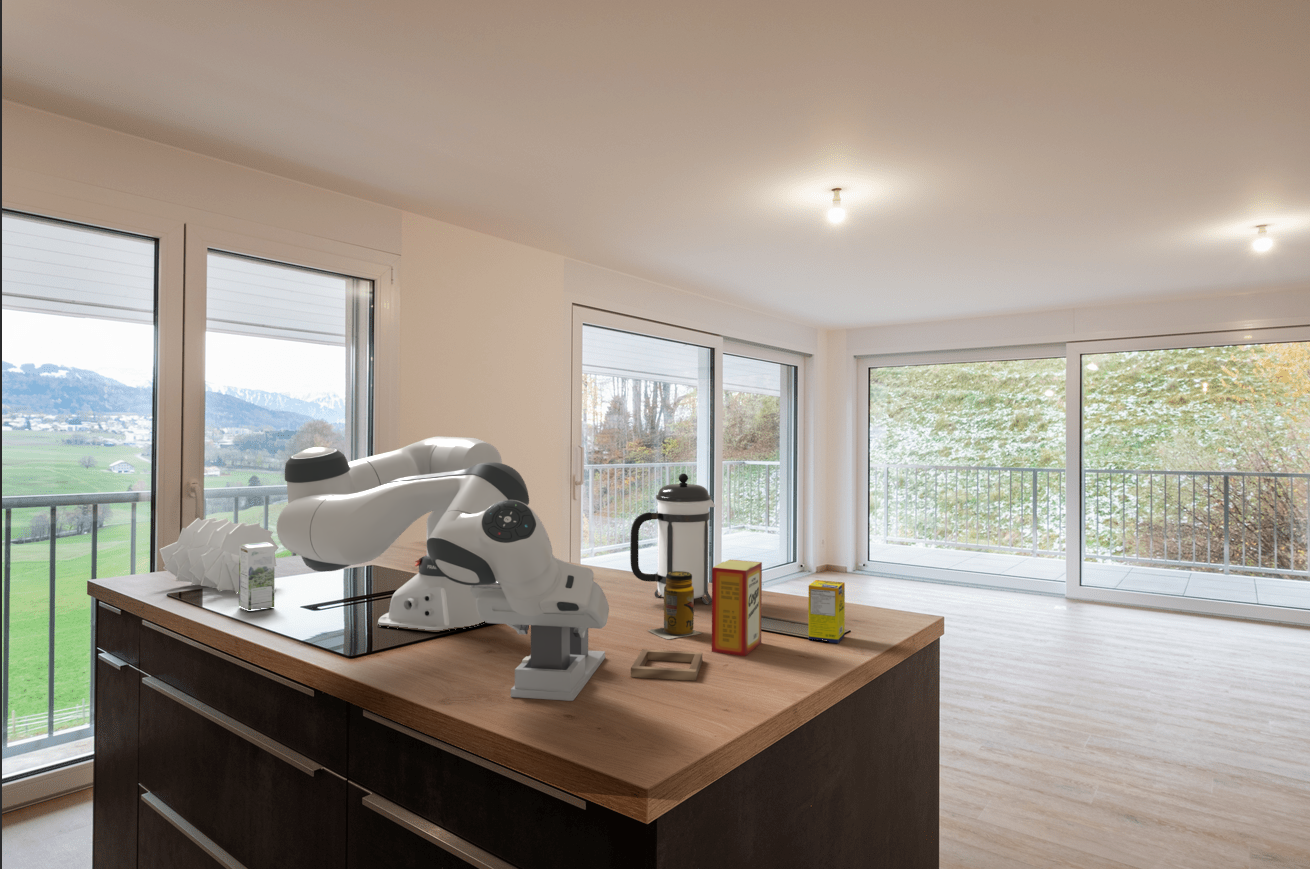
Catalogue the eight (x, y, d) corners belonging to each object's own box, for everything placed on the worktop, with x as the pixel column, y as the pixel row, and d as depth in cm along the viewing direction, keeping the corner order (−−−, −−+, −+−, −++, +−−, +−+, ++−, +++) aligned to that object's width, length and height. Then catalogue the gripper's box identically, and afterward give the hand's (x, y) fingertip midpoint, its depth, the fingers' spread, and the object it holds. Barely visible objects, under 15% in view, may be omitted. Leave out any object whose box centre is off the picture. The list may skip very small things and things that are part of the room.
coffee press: (670, 590, 201) (671, 470, 201) (726, 598, 192) (727, 473, 191) (628, 603, 187) (628, 474, 186) (685, 613, 178) (686, 477, 177)
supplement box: (844, 636, 160) (845, 581, 160) (838, 644, 155) (839, 587, 154) (815, 632, 163) (815, 579, 162) (807, 640, 157) (808, 584, 157)
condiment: (702, 633, 162) (702, 574, 162) (667, 640, 157) (667, 579, 157) (681, 625, 168) (681, 568, 168) (647, 631, 163) (647, 572, 163)
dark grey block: (530, 685, 127) (530, 608, 127) (540, 674, 132) (540, 601, 132) (561, 687, 126) (561, 610, 126) (569, 676, 131) (569, 602, 131)
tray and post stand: (573, 700, 124) (573, 641, 123) (510, 696, 125) (510, 638, 125) (605, 657, 145) (605, 607, 145) (551, 655, 147) (551, 604, 147)
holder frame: (630, 676, 135) (630, 668, 135) (642, 657, 146) (642, 649, 146) (695, 680, 133) (695, 671, 133) (702, 660, 144) (702, 652, 144)
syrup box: (265, 604, 185) (264, 541, 185) (275, 608, 181) (274, 544, 181) (238, 608, 181) (238, 544, 181) (248, 613, 177) (247, 547, 176)
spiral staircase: (210, 595, 211) (269, 602, 198) (145, 577, 197) (205, 583, 185) (236, 529, 218) (295, 531, 205) (175, 506, 204) (234, 507, 191)
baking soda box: (729, 638, 158) (729, 557, 158) (761, 642, 155) (761, 560, 155) (711, 651, 150) (712, 565, 149) (745, 656, 147) (745, 568, 146)
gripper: (461, 599, 119) (485, 646, 129) (595, 605, 116) (610, 653, 126) (472, 564, 124) (495, 612, 134) (602, 569, 120) (616, 617, 130)
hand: (552, 632), depth 130 cm, fingers open, 8 cm apart
